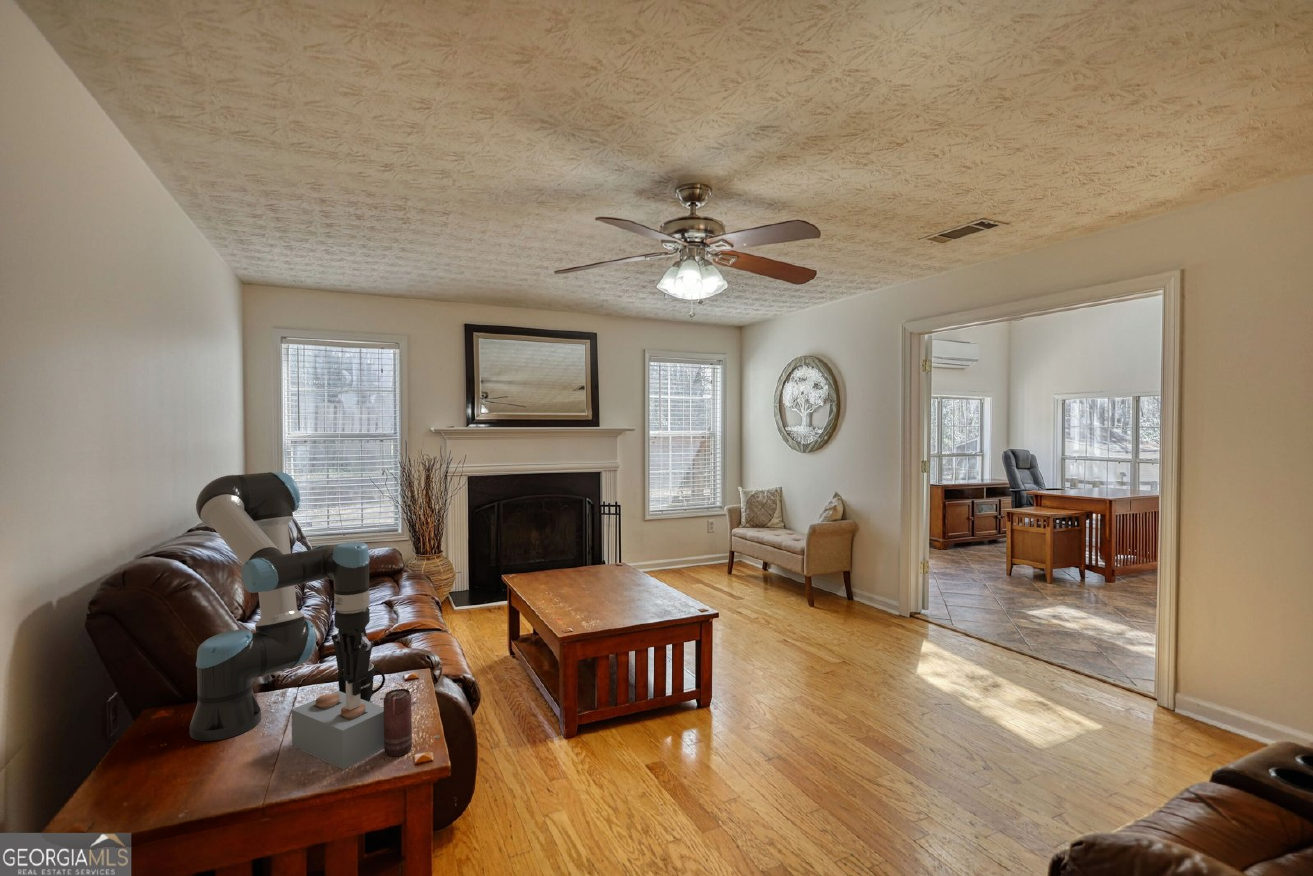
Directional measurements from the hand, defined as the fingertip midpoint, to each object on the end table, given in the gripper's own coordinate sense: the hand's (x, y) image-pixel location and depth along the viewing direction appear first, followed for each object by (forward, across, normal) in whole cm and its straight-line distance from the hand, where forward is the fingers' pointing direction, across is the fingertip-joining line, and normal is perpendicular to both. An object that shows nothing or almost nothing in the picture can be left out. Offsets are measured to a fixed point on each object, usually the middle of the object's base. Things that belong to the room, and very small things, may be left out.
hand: (353, 707), depth 148 cm
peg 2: (+10, 0, 0) cm, 10 cm away
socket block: (+11, -5, 0) cm, 12 cm away
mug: (+11, -21, +17) cm, 29 cm away
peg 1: (+10, -10, 0) cm, 14 cm away
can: (+11, +9, +6) cm, 15 cm away
